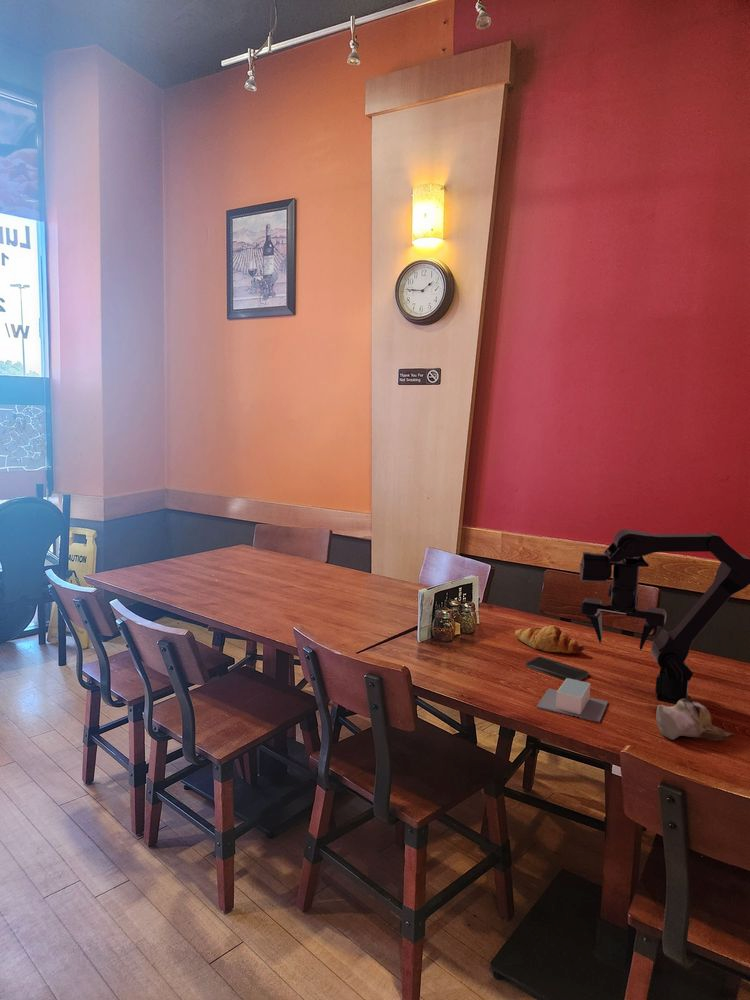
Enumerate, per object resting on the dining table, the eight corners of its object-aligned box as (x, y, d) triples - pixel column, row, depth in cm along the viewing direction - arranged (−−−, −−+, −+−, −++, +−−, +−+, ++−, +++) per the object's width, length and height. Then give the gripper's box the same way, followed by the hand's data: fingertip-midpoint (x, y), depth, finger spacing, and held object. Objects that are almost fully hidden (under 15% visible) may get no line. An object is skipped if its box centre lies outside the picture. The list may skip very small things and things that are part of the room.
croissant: (510, 652, 194) (504, 632, 190) (523, 629, 201) (518, 609, 197) (579, 669, 181) (575, 648, 177) (592, 644, 187) (588, 623, 184)
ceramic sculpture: (645, 687, 143) (707, 687, 145) (639, 724, 144) (701, 724, 146) (674, 710, 132) (741, 710, 135) (668, 750, 133) (734, 749, 136)
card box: (580, 714, 147) (581, 697, 147) (555, 708, 150) (556, 691, 150) (589, 699, 155) (590, 683, 154) (565, 693, 158) (566, 677, 157)
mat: (607, 703, 154) (608, 701, 154) (599, 722, 144) (599, 720, 144) (548, 689, 161) (548, 688, 161) (536, 707, 151) (536, 706, 151)
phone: (575, 681, 164) (524, 663, 175) (575, 685, 164) (523, 667, 175) (590, 672, 170) (540, 655, 180) (590, 676, 170) (539, 659, 181)
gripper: (670, 580, 158) (665, 642, 160) (591, 570, 167) (587, 629, 169) (666, 592, 148) (661, 657, 151) (582, 580, 157) (578, 642, 160)
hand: (620, 645), depth 158 cm, fingers open, 9 cm apart
